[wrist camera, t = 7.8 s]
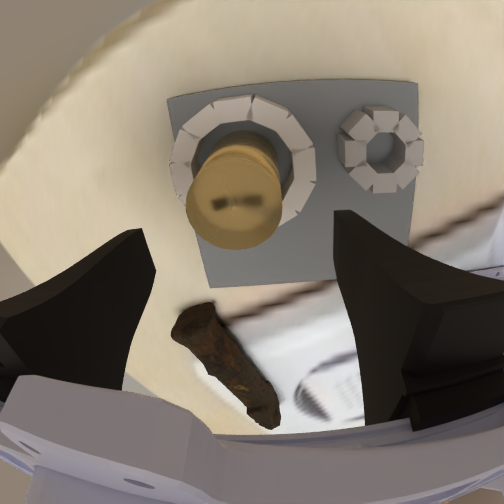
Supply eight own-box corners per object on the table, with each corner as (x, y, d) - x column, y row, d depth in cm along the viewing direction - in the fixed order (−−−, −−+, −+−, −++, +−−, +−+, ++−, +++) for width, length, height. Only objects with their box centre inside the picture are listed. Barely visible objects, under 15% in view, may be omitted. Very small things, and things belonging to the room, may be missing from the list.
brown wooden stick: (175, 306, 27) (162, 346, 23) (214, 295, 26) (205, 338, 22) (257, 405, 36) (255, 436, 32) (287, 400, 35) (287, 432, 31)
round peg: (271, 125, 17) (273, 154, 11) (282, 187, 19) (288, 243, 13) (204, 137, 17) (174, 173, 12) (219, 197, 19) (200, 255, 14)
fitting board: (411, 82, 15) (433, 86, 13) (398, 264, 23) (411, 288, 20) (171, 97, 17) (155, 103, 14) (211, 280, 24) (205, 306, 22)
